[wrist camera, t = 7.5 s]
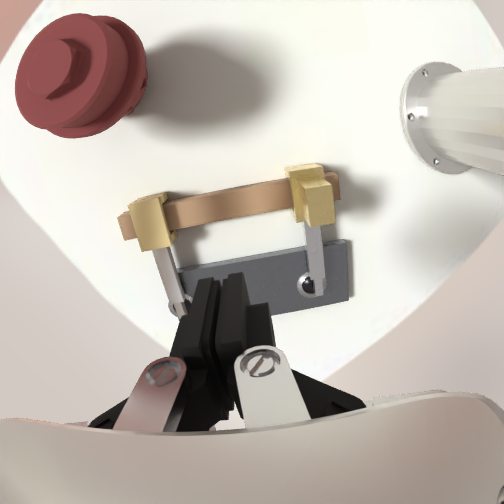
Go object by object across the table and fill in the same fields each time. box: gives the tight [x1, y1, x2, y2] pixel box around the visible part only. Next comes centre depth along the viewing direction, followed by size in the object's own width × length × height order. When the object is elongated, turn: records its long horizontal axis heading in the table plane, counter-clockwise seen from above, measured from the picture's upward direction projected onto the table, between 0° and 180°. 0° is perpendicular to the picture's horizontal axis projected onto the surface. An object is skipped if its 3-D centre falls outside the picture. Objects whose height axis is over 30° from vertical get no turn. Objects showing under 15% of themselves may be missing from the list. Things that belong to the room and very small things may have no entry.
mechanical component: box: [15, 13, 147, 138], centre depth 18 cm, size 12×10×10 cm
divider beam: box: [118, 171, 340, 319], centre depth 29 cm, size 21×13×3 cm, turn 100°
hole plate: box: [168, 239, 349, 321], centre depth 32 cm, size 20×7×1 cm, turn 100°
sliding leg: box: [285, 163, 336, 296], centre depth 27 cm, size 3×13×7 cm, turn 10°
